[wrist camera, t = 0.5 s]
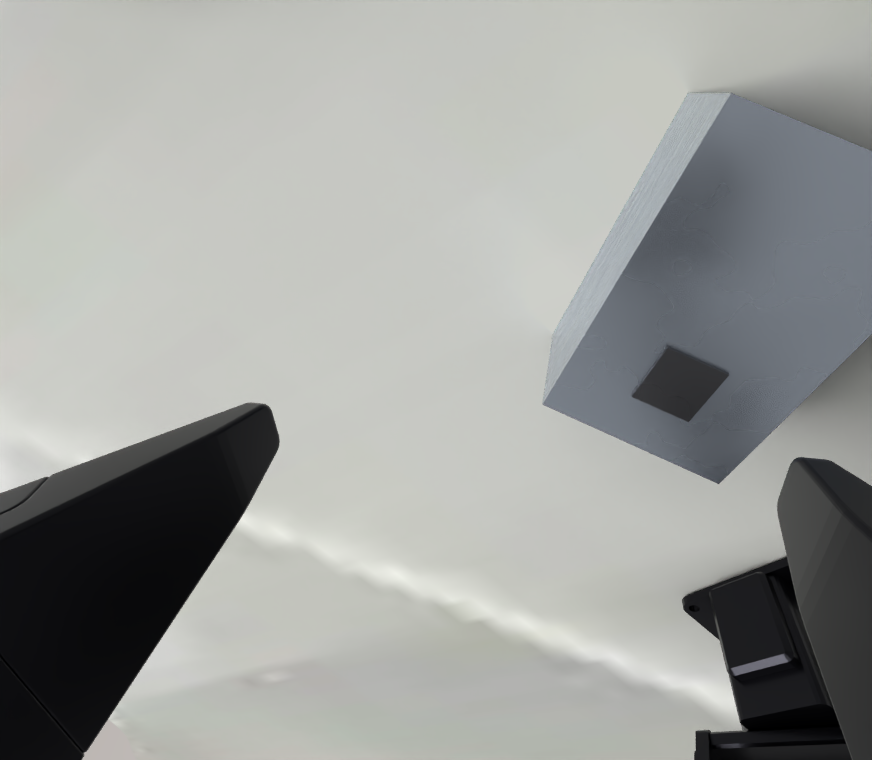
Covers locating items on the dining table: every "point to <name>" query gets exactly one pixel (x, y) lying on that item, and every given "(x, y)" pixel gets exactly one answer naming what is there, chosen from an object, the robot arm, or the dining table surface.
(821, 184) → the block
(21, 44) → the dining table surface
